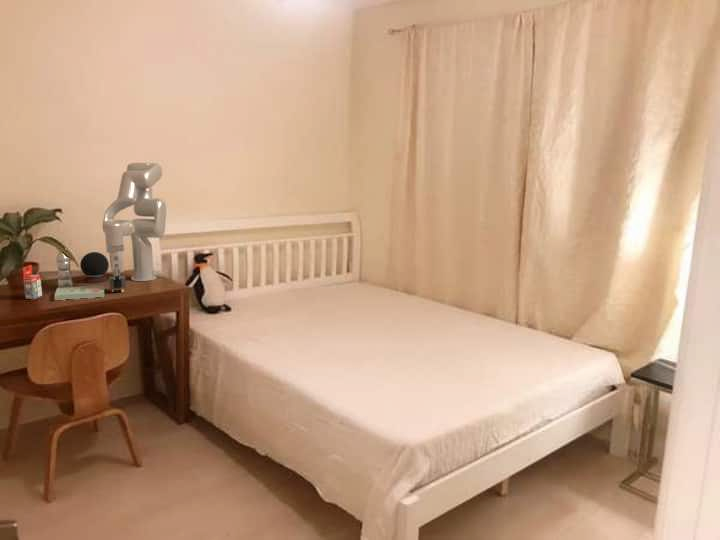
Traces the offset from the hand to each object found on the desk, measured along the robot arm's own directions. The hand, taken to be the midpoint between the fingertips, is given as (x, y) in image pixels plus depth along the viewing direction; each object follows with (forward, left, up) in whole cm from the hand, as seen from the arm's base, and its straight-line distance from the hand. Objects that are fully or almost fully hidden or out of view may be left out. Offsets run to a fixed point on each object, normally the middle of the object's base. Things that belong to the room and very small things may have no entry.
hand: (117, 285), depth 266 cm
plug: (0, 0, -3) cm, 3 cm away
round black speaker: (+10, -28, -3) cm, 30 cm away
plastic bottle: (+23, -15, -3) cm, 28 cm away
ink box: (+35, -1, -3) cm, 35 cm away
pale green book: (+16, +1, -3) cm, 16 cm away
